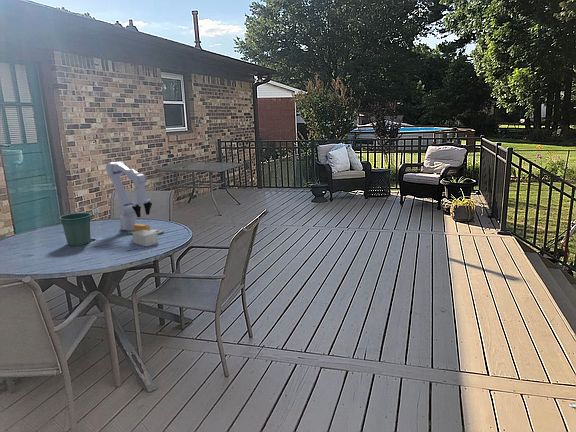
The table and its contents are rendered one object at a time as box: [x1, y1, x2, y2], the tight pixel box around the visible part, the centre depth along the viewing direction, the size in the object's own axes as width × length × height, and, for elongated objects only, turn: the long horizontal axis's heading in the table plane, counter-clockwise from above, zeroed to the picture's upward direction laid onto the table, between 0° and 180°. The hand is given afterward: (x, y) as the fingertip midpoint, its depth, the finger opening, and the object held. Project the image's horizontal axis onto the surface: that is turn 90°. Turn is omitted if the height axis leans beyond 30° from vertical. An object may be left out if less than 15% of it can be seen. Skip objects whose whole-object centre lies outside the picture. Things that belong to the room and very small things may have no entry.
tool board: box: [126, 230, 165, 236], centre depth 270 cm, size 20×10×1 cm, turn 65°
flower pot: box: [59, 212, 92, 247], centre depth 251 cm, size 16×16×16 cm
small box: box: [132, 230, 159, 247], centre depth 248 cm, size 8×6×13 cm
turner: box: [134, 223, 160, 232], centre depth 269 cm, size 15×7×4 cm, turn 65°
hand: (143, 215), depth 271 cm, fingers open, 7 cm apart
